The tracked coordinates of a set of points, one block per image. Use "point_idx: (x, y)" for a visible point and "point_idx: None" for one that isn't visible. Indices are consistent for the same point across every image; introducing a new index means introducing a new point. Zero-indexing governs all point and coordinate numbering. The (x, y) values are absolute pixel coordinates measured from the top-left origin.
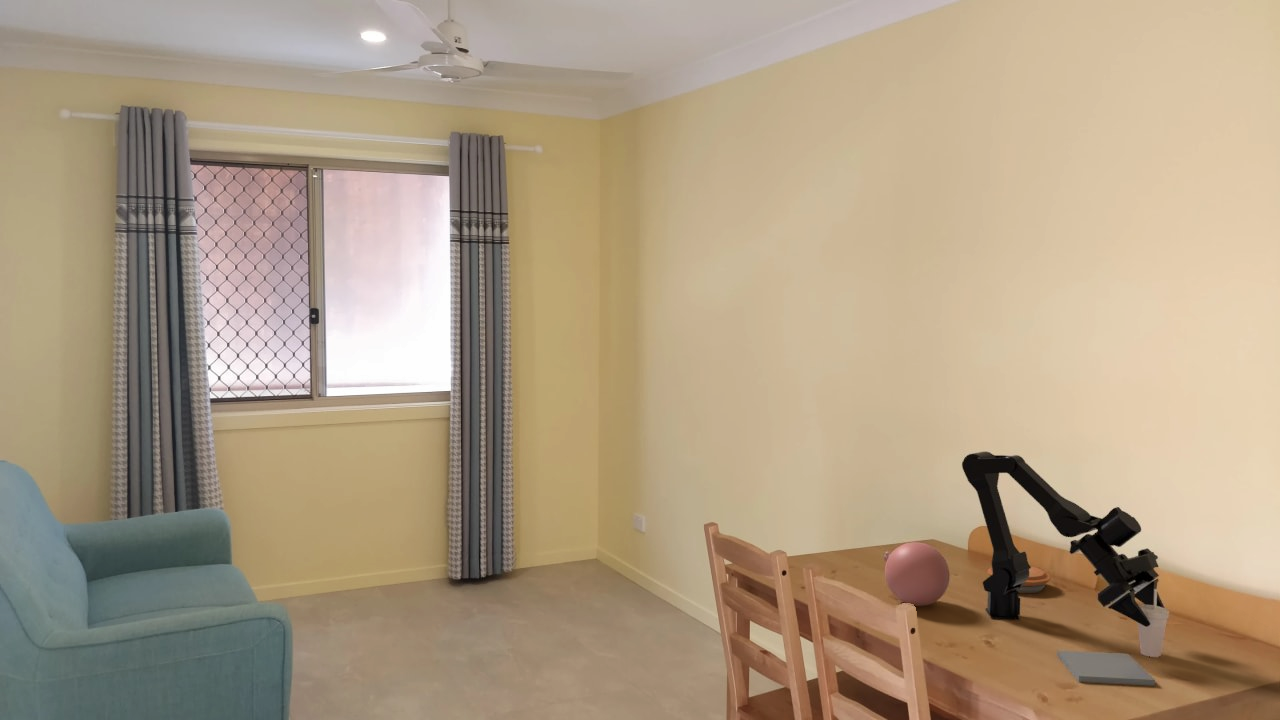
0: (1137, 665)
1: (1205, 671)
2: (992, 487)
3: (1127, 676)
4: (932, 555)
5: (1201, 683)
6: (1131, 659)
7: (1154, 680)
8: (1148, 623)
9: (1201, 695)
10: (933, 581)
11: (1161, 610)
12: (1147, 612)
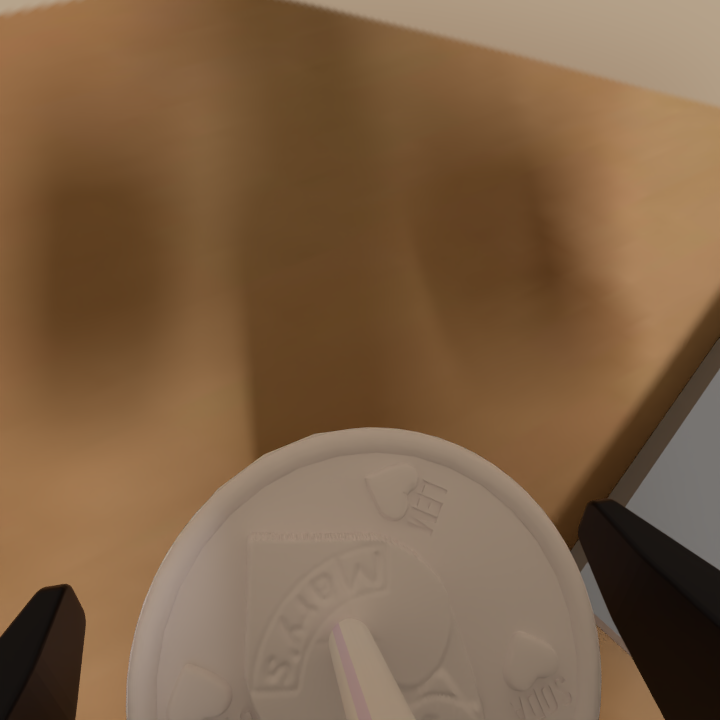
0: (692, 435)
1: (339, 216)
2: None
3: None
4: None
5: (527, 163)
6: (640, 513)
7: None
8: (622, 510)
9: (664, 109)
10: None
11: (331, 538)
12: (585, 610)
